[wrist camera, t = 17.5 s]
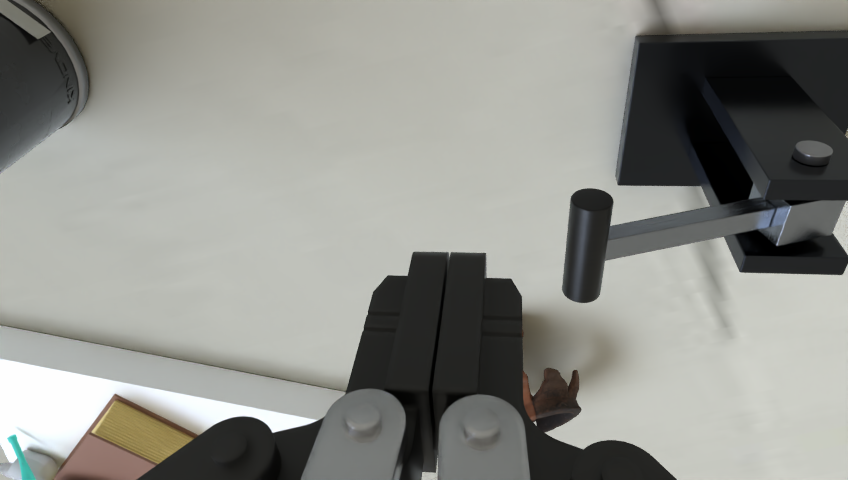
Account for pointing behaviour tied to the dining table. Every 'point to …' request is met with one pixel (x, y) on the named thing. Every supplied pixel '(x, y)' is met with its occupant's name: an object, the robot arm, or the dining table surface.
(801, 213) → the lever
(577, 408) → the brown broken pot shard
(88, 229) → the dining table surface
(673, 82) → the bracket
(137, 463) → the decorative still life
